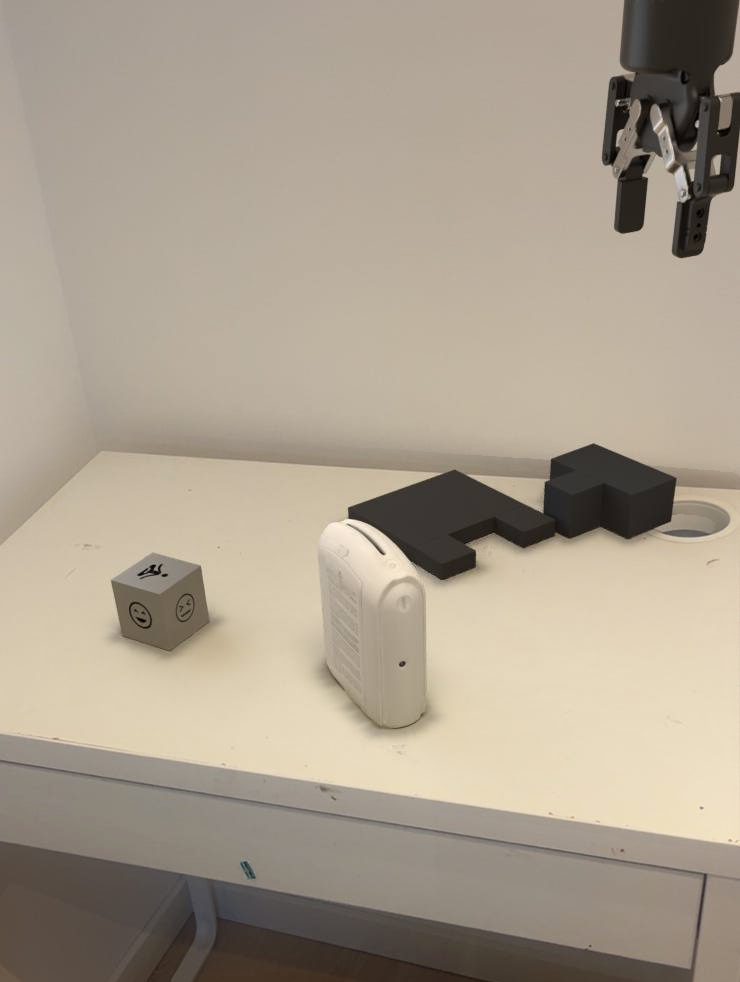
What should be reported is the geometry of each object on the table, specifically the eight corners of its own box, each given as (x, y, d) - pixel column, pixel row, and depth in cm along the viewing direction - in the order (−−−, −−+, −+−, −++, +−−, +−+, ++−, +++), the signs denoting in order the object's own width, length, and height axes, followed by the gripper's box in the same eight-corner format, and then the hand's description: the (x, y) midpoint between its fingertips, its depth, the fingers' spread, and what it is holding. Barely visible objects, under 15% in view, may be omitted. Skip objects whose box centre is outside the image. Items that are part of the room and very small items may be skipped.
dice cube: (162, 607, 96) (152, 552, 93) (209, 621, 93) (200, 565, 90) (122, 635, 93) (110, 580, 90) (169, 651, 90) (159, 594, 87)
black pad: (454, 484, 109) (454, 469, 108) (555, 535, 99) (556, 519, 99) (348, 522, 105) (347, 507, 104) (442, 580, 95) (442, 563, 94)
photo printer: (436, 718, 80) (434, 556, 73) (380, 737, 79) (372, 575, 71) (370, 650, 88) (362, 497, 80) (319, 666, 87) (305, 512, 79)
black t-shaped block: (517, 512, 103) (519, 469, 101) (590, 484, 106) (593, 442, 104) (596, 552, 97) (599, 507, 94) (671, 521, 100) (676, 477, 97)
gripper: (797, -19, 73) (755, 256, 83) (676, -29, 84) (652, 216, 94) (690, -4, 72) (660, 274, 82) (581, -15, 83) (567, 231, 93)
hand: (656, 243), depth 88 cm, fingers open, 8 cm apart
